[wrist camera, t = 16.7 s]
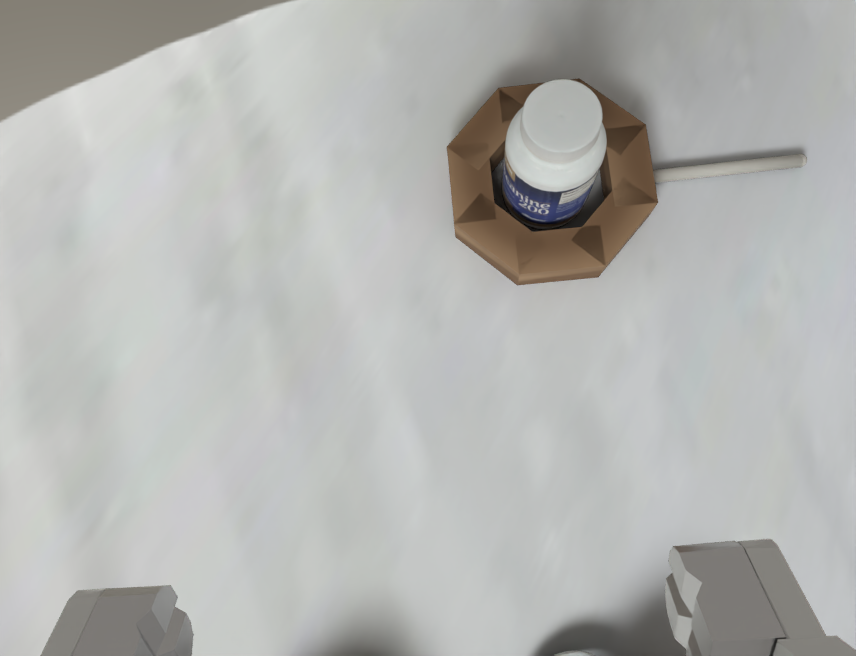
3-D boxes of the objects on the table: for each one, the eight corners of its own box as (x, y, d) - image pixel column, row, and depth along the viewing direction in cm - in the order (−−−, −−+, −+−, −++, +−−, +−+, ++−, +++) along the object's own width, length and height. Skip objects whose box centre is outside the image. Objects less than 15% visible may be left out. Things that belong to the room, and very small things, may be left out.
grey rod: (644, 185, 42) (647, 180, 42) (642, 173, 43) (645, 168, 42) (804, 168, 42) (810, 163, 41) (801, 156, 42) (808, 151, 41)
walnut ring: (460, 290, 42) (459, 280, 40) (444, 114, 44) (441, 94, 42) (656, 271, 41) (667, 259, 39) (628, 93, 44) (637, 71, 41)
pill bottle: (484, 186, 43) (485, 109, 34) (549, 136, 44) (568, 45, 34) (538, 248, 42) (555, 187, 33) (604, 196, 43) (640, 120, 33)
